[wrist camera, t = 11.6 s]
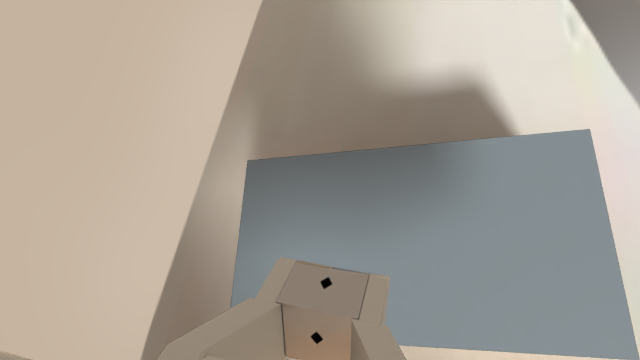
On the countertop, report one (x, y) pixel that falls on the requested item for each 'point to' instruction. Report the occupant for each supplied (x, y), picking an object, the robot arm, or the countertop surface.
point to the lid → (454, 240)
